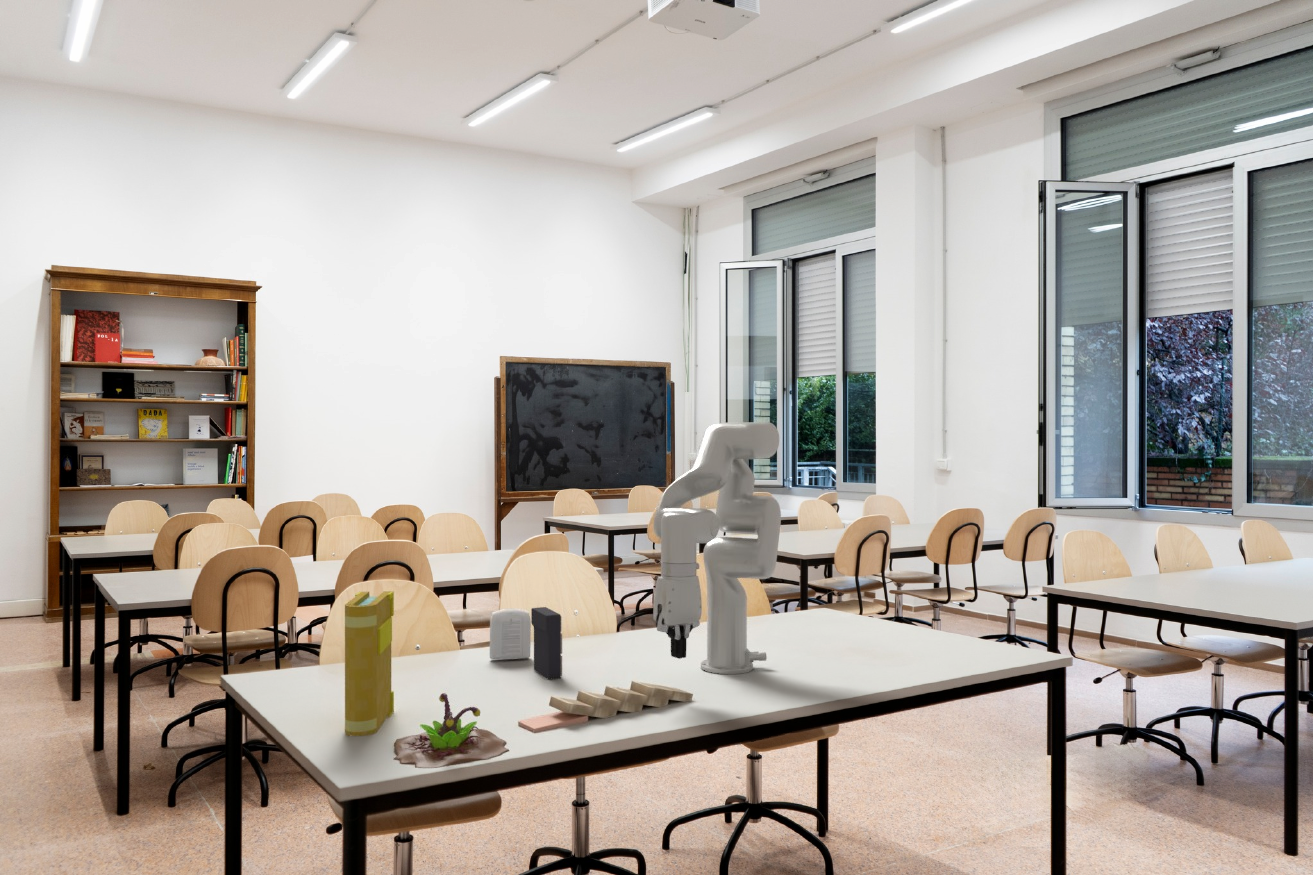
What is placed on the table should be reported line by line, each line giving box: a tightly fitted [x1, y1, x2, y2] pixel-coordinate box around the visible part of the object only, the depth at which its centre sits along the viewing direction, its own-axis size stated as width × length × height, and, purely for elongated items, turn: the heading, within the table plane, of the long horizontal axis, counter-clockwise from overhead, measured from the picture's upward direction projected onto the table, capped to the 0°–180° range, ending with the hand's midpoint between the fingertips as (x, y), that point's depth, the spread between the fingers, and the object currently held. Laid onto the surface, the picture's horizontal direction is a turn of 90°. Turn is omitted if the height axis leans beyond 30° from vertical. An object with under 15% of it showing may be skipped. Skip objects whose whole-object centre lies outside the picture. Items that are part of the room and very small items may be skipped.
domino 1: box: [517, 710, 589, 733], centre depth 186 cm, size 2×6×12 cm
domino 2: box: [548, 695, 618, 719], centre depth 190 cm, size 2×6×12 cm
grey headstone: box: [489, 608, 532, 660], centre depth 244 cm, size 10×4×12 cm, turn 103°
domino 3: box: [576, 690, 644, 713], centre depth 194 cm, size 2×6×12 cm
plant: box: [393, 692, 510, 769], centre depth 170 cm, size 20×20×11 cm
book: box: [344, 590, 395, 737], centre depth 186 cm, size 17×7×25 cm, turn 5°
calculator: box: [530, 606, 563, 681], centre depth 228 cm, size 11×4×15 cm, turn 26°
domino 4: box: [603, 685, 670, 708], centre depth 198 cm, size 2×6×12 cm
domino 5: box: [629, 680, 694, 703], centre depth 202 cm, size 2×6×12 cm
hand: (678, 656), depth 205 cm, fingers closed
